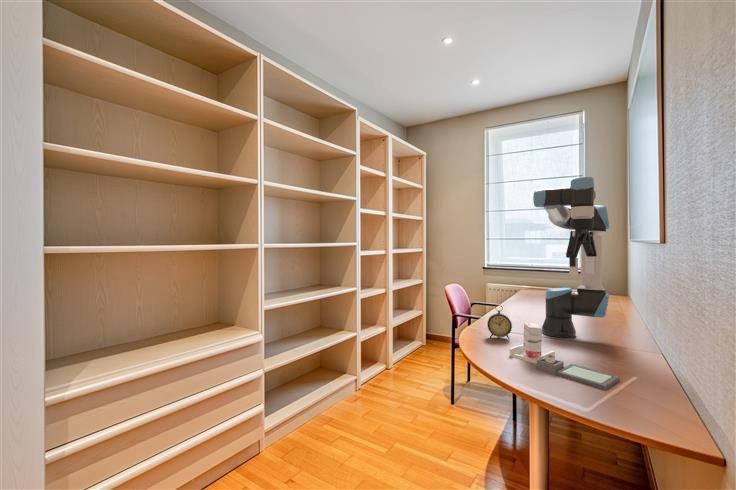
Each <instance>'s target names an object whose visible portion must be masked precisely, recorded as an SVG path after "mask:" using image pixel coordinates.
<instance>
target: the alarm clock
mask: <svg viewBox="0 0 736 490" xmlns="http://www.w3.org/2000/svg"><path fill="white" fill-rule="evenodd" d="M498 306H499V307H501V310H497V307H498ZM494 308H495V310H497V313H493V314H492V315H490V316H489V317H488V319H487V323H486V324H487V329H488V331H489V332H490V334H491V335H490V336H489V338H490V339H491V338H492V337H493V336H494V337H498V338H505V337H506V338H508V339H509V340H510V339H511V338H510V337H509V334H510V333H512V332H511V331H512V328H513V324H512V322H511V319H509V317H508V316H507V315H506V314H504V313H501V312H502V311H503V309H504V308H503V305H501V304H496V305H495V307H494Z"/></svg>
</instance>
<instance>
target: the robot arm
mask: <svg viewBox="0 0 736 490" xmlns="http://www.w3.org/2000/svg"><path fill="white" fill-rule="evenodd" d="M596 196H597V193H596V191H595V178H594V177H593V176H578V177H573V178H572V179H571V180H570V186H568V187H567V186H566V187H559V188H557V187H556V188H546V189H545V188H542V189H538V190H535V191H533V198H532V200H533V205H534V207H535V208H541V209H542V208H544V210H545V212H546V213H547V214H548V219H549V221H550V222H551V223H552V224H553V225H554V226H556V227H558V228H562V229H565V230H568V231H569V230H570V232H569V233H570V235H569V241H568V244H567V249H566V254H565V257H566V258H568V259H569V261H568V262H569V263H568V264H569V265H568V266H569V267H568V268H569V269H568V270H569V271H568V272H569V273H568V274H569V276H571V277H573V276H574V277H579V257H578V255H579V252H580V284H579V286H577V288H576V290H575V291H573V288H571V287H554V288H553V287H552V288H550V289H547V290H546V291H545V298H544V299H545V318H544V321H543V324H542V326H541V328H542V335H543V334H544V335H546V336H549V337H554V338H563V339H564V338H565V339H566V338H567V339H570V338H571V339H572V338H574V337H576V336H577V330H576V328H575V326H574V322H573V316H581V317H587V318H588V317H591V318H605V317H606V316H607V311H608V306H609V301H610V293H608V292H607V290H606V289H605V288H604V286H603V236H604V235H605V234H606V233H607V230H610V229H611V228H610V227H611V226H610V222H609V215H608V209H607V206H606V205H601V204H600V205H598V204H597V205H596V204H595V203H594V202H595V199H596Z"/></svg>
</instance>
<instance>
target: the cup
mask: <svg viewBox="0 0 736 490" xmlns="http://www.w3.org/2000/svg"><path fill="white" fill-rule="evenodd" d="M564 364H565V363H564V361H562V360H558V359H555V364H554V365H553V364H550V363H546V362H545V357H544V358H542V359H539V360H537V364H536V370H540V371H543V372H545V373H549V374H552V375H555V371H557V370H559V369H561V368H563V367H565V366H564Z"/></svg>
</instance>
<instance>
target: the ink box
mask: <svg viewBox="0 0 736 490" xmlns="http://www.w3.org/2000/svg"><path fill="white" fill-rule="evenodd" d="M542 340H543V333H542V327H540V326H539V324H537V323H533V322H524V324H523V343H522V344H523V351H524V353H525V354H526V355H527V356H528V357H529V358H539V356H541V353H542V345H543V344H542Z"/></svg>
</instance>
